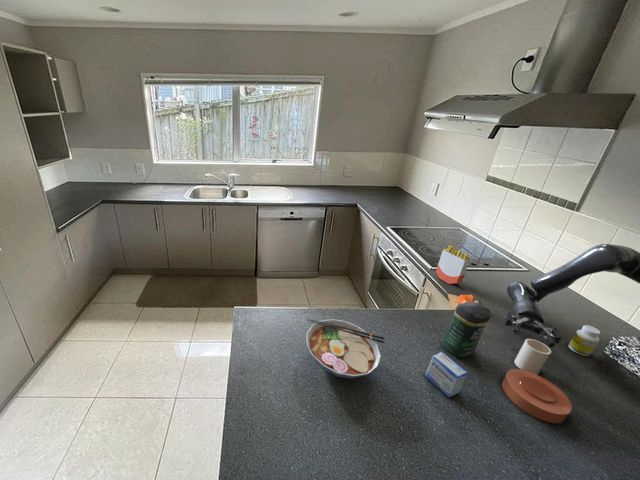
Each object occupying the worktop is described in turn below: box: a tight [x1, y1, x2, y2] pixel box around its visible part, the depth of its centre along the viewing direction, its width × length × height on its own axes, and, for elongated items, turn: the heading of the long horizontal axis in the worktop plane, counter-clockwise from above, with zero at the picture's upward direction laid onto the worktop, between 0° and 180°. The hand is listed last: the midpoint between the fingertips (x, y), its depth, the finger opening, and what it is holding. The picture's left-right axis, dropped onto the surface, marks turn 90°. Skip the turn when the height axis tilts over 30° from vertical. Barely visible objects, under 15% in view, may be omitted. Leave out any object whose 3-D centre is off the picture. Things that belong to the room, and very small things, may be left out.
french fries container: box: [435, 245, 471, 285], centre depth 136 cm, size 5×11×18 cm, turn 21°
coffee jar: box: [441, 301, 492, 358], centre depth 95 cm, size 10×8×19 cm
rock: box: [447, 292, 480, 310], centre depth 121 cm, size 12×12×4 cm
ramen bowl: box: [306, 318, 385, 379], centre depth 90 cm, size 25×23×8 cm
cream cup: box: [513, 338, 552, 375], centre depth 91 cm, size 6×6×9 cm
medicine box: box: [425, 352, 469, 398], centre depth 83 cm, size 8×4×9 cm, turn 23°
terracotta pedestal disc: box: [501, 368, 573, 424], centre depth 81 cm, size 14×14×4 cm
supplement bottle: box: [568, 324, 601, 357], centre depth 98 cm, size 5×5×10 cm
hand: (533, 339), depth 94 cm, fingers open, 8 cm apart
